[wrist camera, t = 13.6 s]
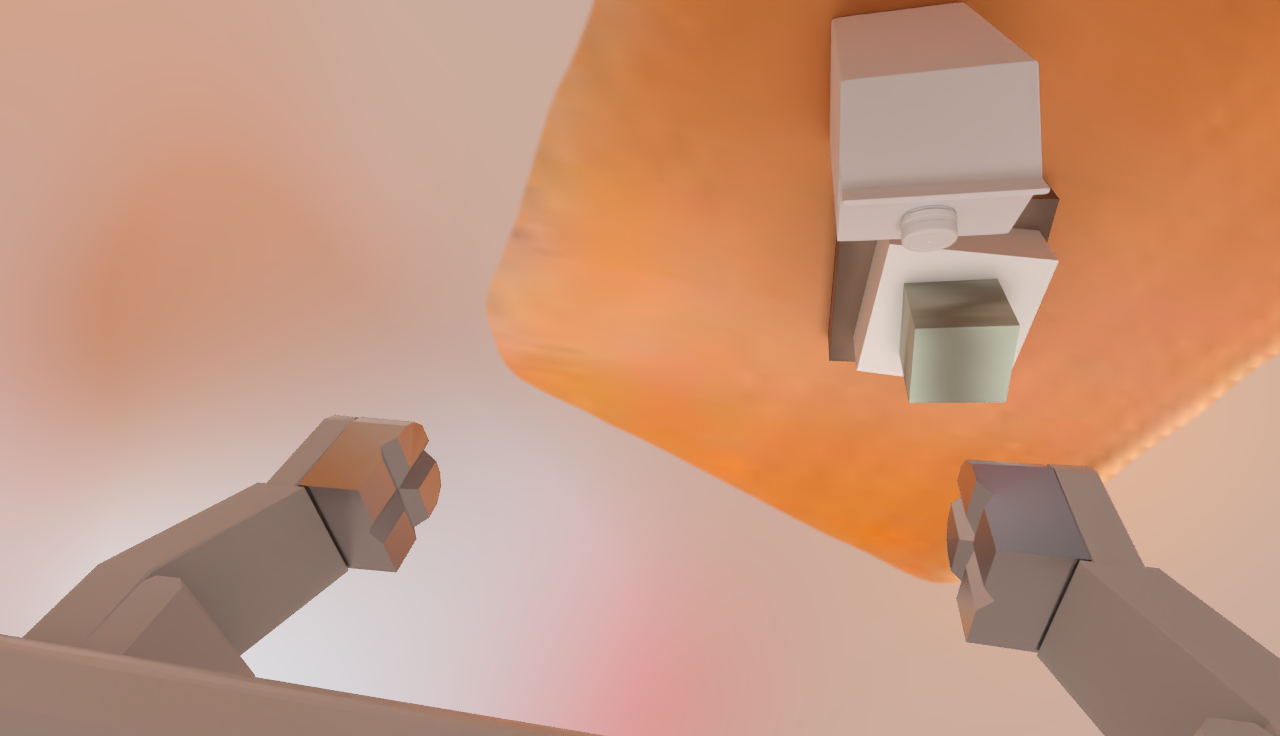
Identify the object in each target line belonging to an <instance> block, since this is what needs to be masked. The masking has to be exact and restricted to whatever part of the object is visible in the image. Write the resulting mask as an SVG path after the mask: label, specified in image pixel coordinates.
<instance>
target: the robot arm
mask: <svg viewBox="0 0 1280 736" xmlns="http://www.w3.org/2000/svg"><path fill="white" fill-rule="evenodd" d="M428 441H429V440H428V438H427V435H426V433H425V431H424V428H423V426H422V425H420V424H418V423H415V422H409V421H398V420H387V419H377V418H366V417H360V418H357V417H349V416H339V415H334V416H331V417H328V418H326V419H324V420H323V421H322V422H321V424H320V425H319V426H318V427H317V428H316V429H315V430H314V431H313V432H312V433H311V435H310V436H309V437H308V438H307V439H306V440H305V441H304V442H303V444H302V445H301V446H300V447H299V448H298V449H297V450H296V451H295V452H294V453H293V454H292V456H291V457H290V458H289V459H288V460H287V461H286V462H285V463H284V464H283V466H282V467H281V468H280V469H279V470H278V471H277V472H276V473H275V474H274V475H273V477H272V478H271V479H270V480H269V481H268V482H267V483H256V484H254V485H252V486H251V487H248V488H247V489H245V490H243V491H241V492H239V493H237V494H235V495H233V496H231V497H229V498H227V499H226V500H223V501H221V502H219V503H217V504H215V505H213V506H212V507H210V508H208V509H206V510H204V511H202V512H200V513H198V514H196V515H194V516H192V517H190V518H188V519H187V520H184V521H182V522H180V523H179V524H176V525H174V526H173V527H171V528H169V529H167V530H165V531H163V532H161V533H159V534H157V535H155V536H153V537H151V538H149V539H147V540H145V541H143V542H141V543H139V544H137V545H135V546H134V547H132V548H130V549H128V550H126V551H124V552H122V553H120V554H118V555H116V556H114V557H112V558H110V559H108V560H107V561H104V562H103V563H100V564H99V565H97V566H96V567H95V568H94V569H93V570H92V571H91V572H90V573H89V574H88V575H87V576H86V577H85V578H84V579H83V580H82V581H81V582H80V583H79V584H78V585H77V586H76V587H75V588H74V589H72V590H71V591H70V592H69V593H68V594H67V595H66V596H65V597H64V598H63V599H62V600H61V601H60V602H59V603H58V604H57V605H56V606H55V607H54V608H53V609H52V610H51V611H50V612H49V613H48V614H46V615H45V616H44V618H42V619H41V620H40V621H39V622H38V623H37V624H36V625H35V626H34V627H33V628H32V629H31V630H30V631H29V632H28V633H27V634H26V635H25V636H24V637H23V638H19V637H13V636H7V635H2V634H0V736H603V735H597V734H591V733H585V732H579V731H573V730H567V729H561V728H555V727H549V726H543V725H537V724H531V723H525V722H519V721H513V720H507V719H501V718H495V717H489V716H483V715H477V714H471V713H465V712H459V711H453V710H447V709H441V708H435V707H430V706H424V705H417V704H412V703H406V702H400V701H393V700H387V699H381V698H376V697H369V696H364V695H358V694H352V693H346V692H339V691H334V690H328V689H322V688H316V687H310V686H304V685H298V684H292V683H286V682H280V681H275V680H268V679H263V678H256V677H255V675H254V674H253V672H252V671H251V670H250V668H249V667H248V666H247V664H246V663H245V662H244V660H243V659H242V658H241V657H240V655H241V654H243V653H244V652H245V651H246V650H248V649H249V648H250V647H251V646H253V645H254V644H255V643H257V642H258V641H259V640H260V639H262V638H263V637H264V636H265V635H267V634H268V633H269V632H271V631H272V630H273V629H275V628H276V627H277V626H278V625H279V624H281V623H282V622H283V621H285V620H286V619H287V618H289V617H290V616H291V615H292V614H294V613H295V612H296V611H297V610H299V609H300V608H301V607H303V606H304V605H305V604H306V603H308V602H309V601H310V600H311V599H313V598H314V597H315V596H317V595H318V594H319V593H320V592H321V591H323V590H324V589H325V588H327V587H328V586H329V585H330V584H332V583H333V582H334V581H336V580H337V579H338V578H339V577H341V576H342V575H343V574H345V573H346V572H347V571H348V568H356V569H367V570H378V571H389V572H397V570H398V569H399V567H400V565H401V564H402V562H403V560H404V559H405V557H406V555H407V554H408V552H409V550H410V549H411V547H412V545H413V544H414V542H415V540H416V535H415V529H414V527H415V526H417V525H418V524H420V523H421V522H423V521H424V520H426V519H427V518H429V517H430V515H431V513H432V511H433V510H434V508H435V506H436V504H437V501H438V496H439V492H440V488H441V480H440V471H439V468H438V465H437V462H436V461H435V460H434V459H433V458H432V457H431V456H430V455H428V454H427V453H426V452H425V451H424V449H425V447H426V445H427V443H428ZM957 481H958V485H959V490H960V494H961V497H960V498H958V499H957V500H956V501H954V502H953V503H951V507H950V512H949V517H948V523H947V550H948V558H949V563H950V568H951V571H952V572H953V573H954V574H955V575H956V576H957V577H958V578H959V579H960V580H961V585H960V589H959V592H958V596H957V602H958V606H959V611H960V616H961V620H962V625H963V630H964V634H965V639H966V642H970V643H977V644H984V645H991V646H998V647H1004V648H1011V649H1018V650H1024V651H1031V652H1038V654H1037V656H1038V657H1039V659H1040V660H1041V661H1042V662H1043V663H1044V664H1045V666H1046V667H1047V668H1048V669H1049V670H1050V672H1051V673H1052V674H1053V675H1054V676H1055V677H1056V679H1057V680H1058V681H1059V682H1060V683H1061V685H1062V686H1063V687H1064V688H1065V689H1066V691H1067V692H1068V693H1069V694H1070V695H1071V696H1072V698H1073V699H1074V700H1075V701H1076V702H1077V704H1079V706H1080V707H1081V708H1082V709H1083V711H1084V712H1085V713H1086V714H1087V715H1088V717H1089V718H1090V719H1091V720H1092V721H1093V722H1094V724H1095V725H1096V726H1097V727H1098V728H1099V730H1100V731H1101V732H1102V733H1103V734H1104V735H1105V736H1280V658H1278V657H1277V656H1275V655H1274V654H1273V653H1271V652H1270V651H1269V650H1267V649H1266V648H1265V647H1263V646H1262V645H1261V644H1259V643H1258V642H1257V641H1255V640H1254V639H1252V638H1251V637H1250V636H1249V635H1247V634H1246V633H1245V632H1243V631H1242V630H1241V629H1239V628H1238V627H1237V626H1235V625H1234V624H1233V623H1231V622H1230V621H1228V620H1227V619H1226V618H1225V617H1223V616H1222V615H1221V614H1219V613H1218V612H1216V611H1215V610H1214V609H1212V608H1211V607H1210V606H1208V605H1207V604H1206V603H1204V602H1203V601H1202V600H1200V599H1199V598H1198V597H1196V596H1195V595H1194V594H1192V593H1191V592H1190V591H1188V590H1187V589H1186V588H1184V587H1183V586H1181V585H1180V584H1179V583H1177V582H1176V581H1175V580H1173V579H1172V578H1171V577H1169V576H1168V575H1167V574H1165V573H1164V572H1163V571H1161V570H1160V569H1159V568H1150V567H1145V566H1144V564H1143V562H1142V560H1141V558H1140V556H1139V555H1138V552H1137V550H1136V549H1135V546H1134V545H1133V543H1132V540H1131V538H1130V537H1129V534H1128V533H1127V530H1126V528H1125V526H1124V525H1123V523H1122V520H1121V519H1120V516H1119V515H1118V513H1117V510H1116V508H1115V507H1114V505H1113V503H1112V501H1111V499H1110V496H1109V494H1108V493H1107V490H1106V488H1105V486H1104V484H1103V483H1102V481H1101V479H1100V477H1099V475H1098V473H1097V471H1095V470H1094V469H1093V468H1091V467H1090V466H1072V465H1053V464H1047V465H1043V464H1028V463H1012V462H995V461H979V460H965V461H964V463H963V465H962V466H961V469H960V473H959V476H958V480H957Z"/></svg>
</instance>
